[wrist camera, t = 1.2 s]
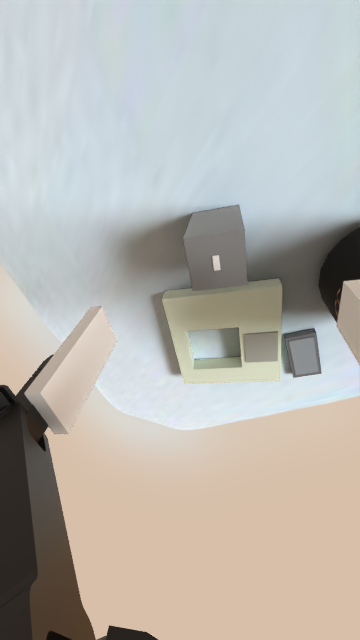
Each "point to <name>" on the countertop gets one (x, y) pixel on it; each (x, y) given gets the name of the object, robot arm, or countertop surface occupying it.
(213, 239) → the block
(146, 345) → the countertop surface
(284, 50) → the countertop surface
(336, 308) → the coffee jar
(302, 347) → the phone
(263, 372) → the outlet plate
